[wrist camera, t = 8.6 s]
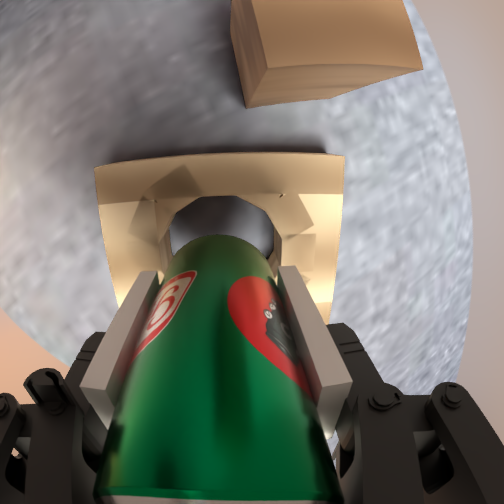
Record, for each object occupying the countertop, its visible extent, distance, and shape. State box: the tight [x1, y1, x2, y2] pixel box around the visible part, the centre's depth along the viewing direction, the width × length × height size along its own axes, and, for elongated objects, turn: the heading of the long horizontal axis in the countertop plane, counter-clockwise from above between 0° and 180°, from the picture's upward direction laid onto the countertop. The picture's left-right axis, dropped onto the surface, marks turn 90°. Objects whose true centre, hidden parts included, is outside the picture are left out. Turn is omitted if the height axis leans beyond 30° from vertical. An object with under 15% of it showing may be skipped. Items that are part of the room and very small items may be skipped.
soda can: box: [92, 234, 345, 504], centre depth 8 cm, size 5×5×12 cm
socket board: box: [94, 152, 345, 325], centre depth 19 cm, size 20×14×3 cm
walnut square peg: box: [230, 0, 423, 109], centre depth 10 cm, size 6×6×10 cm
